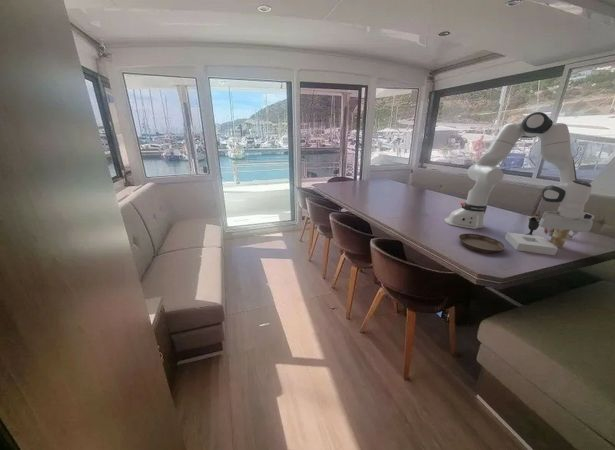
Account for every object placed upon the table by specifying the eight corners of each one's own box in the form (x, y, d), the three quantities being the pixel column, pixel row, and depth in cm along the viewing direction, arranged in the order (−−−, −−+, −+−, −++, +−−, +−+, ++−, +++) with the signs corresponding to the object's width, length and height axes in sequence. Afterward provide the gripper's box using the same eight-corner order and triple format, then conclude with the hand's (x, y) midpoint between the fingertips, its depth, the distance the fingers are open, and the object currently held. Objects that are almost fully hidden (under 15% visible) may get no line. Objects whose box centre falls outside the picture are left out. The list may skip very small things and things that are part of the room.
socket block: (516, 250, 127) (519, 243, 126) (504, 238, 141) (507, 232, 140) (555, 255, 122) (558, 248, 121) (539, 242, 136) (541, 236, 135)
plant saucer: (510, 249, 128) (512, 244, 127) (490, 258, 119) (492, 252, 117) (470, 236, 145) (471, 230, 144) (449, 243, 135) (450, 237, 134)
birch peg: (553, 246, 132) (560, 229, 129) (549, 243, 136) (555, 226, 132) (562, 247, 131) (569, 230, 127) (558, 244, 135) (565, 227, 131)
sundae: (533, 234, 148) (542, 210, 143) (539, 238, 142) (548, 214, 137) (520, 232, 150) (528, 209, 145) (525, 236, 144) (534, 212, 139)
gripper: (547, 212, 127) (538, 236, 132) (599, 216, 121) (587, 242, 126) (541, 208, 133) (532, 232, 138) (590, 213, 126) (579, 237, 131)
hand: (559, 236), depth 132 cm, fingers open, 7 cm apart
